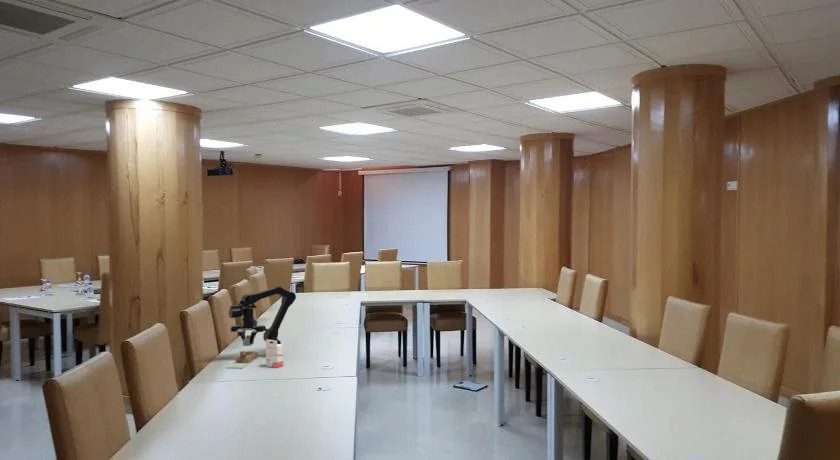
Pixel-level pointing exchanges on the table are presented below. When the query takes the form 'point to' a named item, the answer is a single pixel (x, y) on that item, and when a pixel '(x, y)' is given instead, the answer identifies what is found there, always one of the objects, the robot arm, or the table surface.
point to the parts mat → (237, 365)
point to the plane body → (247, 356)
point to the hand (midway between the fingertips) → (248, 343)
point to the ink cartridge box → (274, 354)
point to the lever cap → (247, 341)
